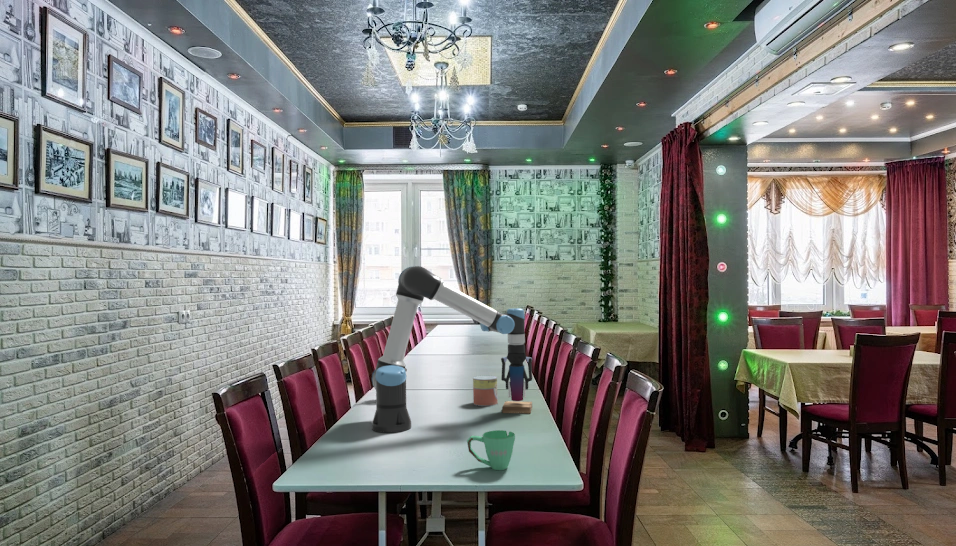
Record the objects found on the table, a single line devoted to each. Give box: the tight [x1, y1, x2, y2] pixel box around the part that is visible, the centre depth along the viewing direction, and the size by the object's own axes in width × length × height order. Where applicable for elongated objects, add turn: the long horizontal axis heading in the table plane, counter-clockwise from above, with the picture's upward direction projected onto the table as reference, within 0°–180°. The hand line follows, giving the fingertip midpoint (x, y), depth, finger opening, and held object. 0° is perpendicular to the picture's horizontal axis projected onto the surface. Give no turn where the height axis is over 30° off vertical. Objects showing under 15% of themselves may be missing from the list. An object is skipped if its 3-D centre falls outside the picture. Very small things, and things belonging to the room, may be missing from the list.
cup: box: [508, 364, 525, 402], centre depth 255 cm, size 7×7×15 cm
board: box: [501, 400, 533, 414], centre depth 255 cm, size 12×12×3 cm
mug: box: [466, 429, 516, 471], centre depth 177 cm, size 15×10×10 cm
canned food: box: [472, 375, 499, 407], centre depth 271 cm, size 11×11×12 cm
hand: (517, 396), depth 255 cm, fingers closed on cup, 6 cm apart
